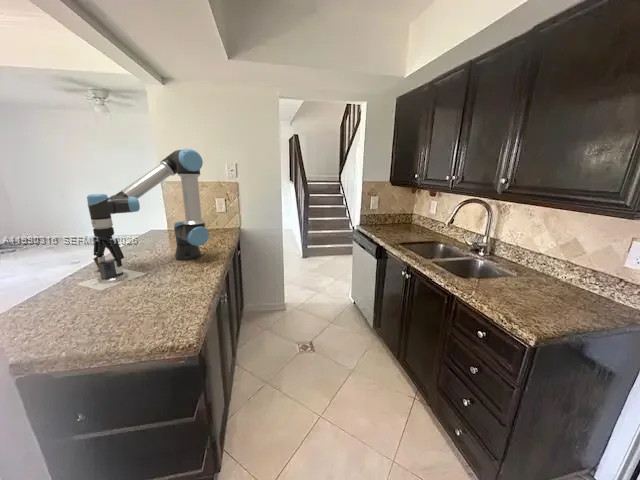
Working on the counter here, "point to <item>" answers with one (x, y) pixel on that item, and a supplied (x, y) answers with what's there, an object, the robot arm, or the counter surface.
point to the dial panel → (100, 286)
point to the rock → (96, 262)
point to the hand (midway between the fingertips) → (111, 271)
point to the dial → (110, 272)
